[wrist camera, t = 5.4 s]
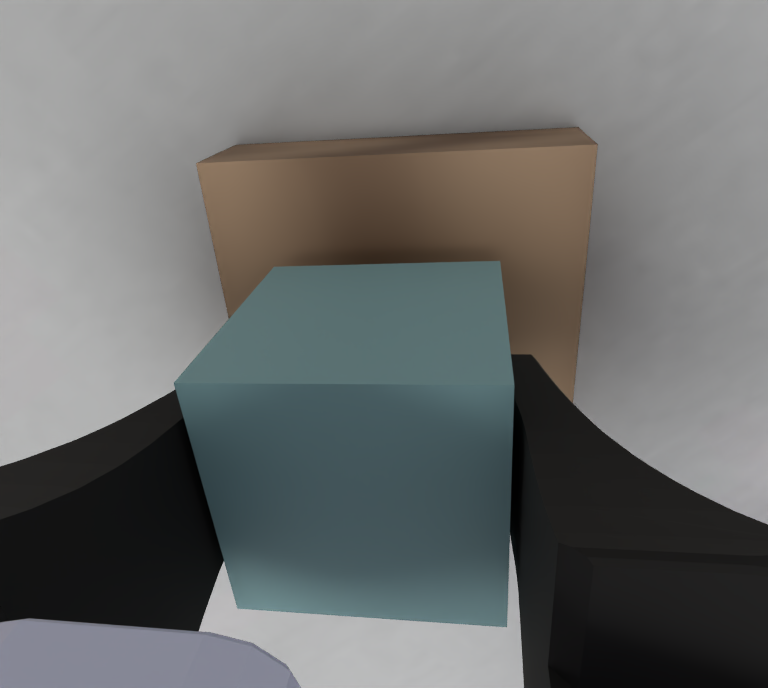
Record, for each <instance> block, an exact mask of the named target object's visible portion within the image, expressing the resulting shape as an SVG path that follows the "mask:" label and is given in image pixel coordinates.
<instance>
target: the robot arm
mask: <svg viewBox="0 0 768 688" xmlns="http://www.w3.org/2000/svg"><path fill="white" fill-rule="evenodd" d="M511 360H512V368H513V377H514V415H513V447H512V479H511V511H510V535H511V541H512V548H513V554H514V560H515V566H516V573H517V582H518V591H519V607H520V624H521V640H522V658H523V675H524V688H768V525H767V524H765V523H762V522H760V521H757V520H755V519H752V518H750V517H747V516H745V515H742V514H740V513H738V512H735V511H733V510H731V509H729V508H727V507H724V506H722V505H720V504H718V503H716V502H714V501H712V500H710V499H708V498H706V497H704V496H702V495H700V494H698V493H696V492H694V491H692V490H690V489H689V488H687V487H685V486H683V485H681V484H679V483H677V482H676V481H674V480H672V479H671V478H669V477H667V476H666V475H664V474H662V473H661V472H659V471H657V470H656V469H654V468H652V467H651V466H649V465H648V464H646V463H644V462H643V461H642V460H640V459H639V458H637V457H636V456H634V455H633V454H631V453H630V452H629V451H627V450H626V449H625V448H623V447H622V446H620V445H619V444H618V443H616V442H615V441H614V440H612V439H611V438H610V437H609V436H607V435H606V434H605V433H604V432H602V431H601V430H600V429H599V428H598V427H597V426H596V425H594V424H593V423H592V422H591V421H590V420H589V419H588V418H587V417H586V416H585V415H584V414H583V413H582V412H581V411H580V410H579V409H578V408H577V407H576V406H575V405H574V404H573V403H572V402H571V401H570V400H569V399H568V397H567V396H566V395H565V394H564V393H563V392H562V391H561V390H560V389H559V387H558V386H557V385H556V384H555V383H554V382H553V380H552V379H551V378H550V377H549V375H548V374H547V373H546V372H545V370H544V369H543V368H542V366H541V365H540V364H539V362H538V361H537V360H536V359H535V358H534V357H533V356H532V355H531V354H511ZM223 561H224V559H223V555H222V552H221V548H220V544H219V541H218V537H217V534H216V530H215V527H214V523H213V520H212V516H211V513H210V509H209V506H208V502H207V499H206V495H205V491H204V488H203V484H202V481H201V477H200V474H199V470H198V467H197V463H196V460H195V456H194V453H193V449H192V446H191V442H190V439H189V435H188V431H187V428H186V424H185V421H184V417H183V414H182V410H181V407H180V403H179V400H178V396H177V393H176V390H174V391H172V392H171V393H169V394H167V395H165V396H163V397H162V398H160V399H158V400H156V401H154V402H152V403H151V404H149V405H147V406H145V407H143V408H141V409H140V410H138V411H136V412H134V413H132V414H130V415H129V416H127V417H125V418H123V419H121V420H119V421H117V422H115V423H112V424H110V425H108V426H106V427H104V428H102V429H100V430H97V431H95V432H93V433H90V434H88V435H86V436H84V437H81V438H79V439H77V440H74V441H72V442H69V443H66V444H64V445H61V446H58V447H56V448H53V449H50V450H47V451H45V452H42V453H39V454H37V455H34V456H31V457H28V458H26V459H23V460H20V461H17V462H14V463H10V464H7V465H4V466H1V467H0V688H301V687H300V685H299V684H298V682H297V680H296V679H295V677H294V676H293V674H292V672H291V671H290V669H289V668H288V666H287V665H286V664H284V663H283V662H281V661H280V660H278V659H277V658H275V657H273V656H272V655H270V654H269V653H267V652H266V651H264V650H263V649H261V648H259V647H258V646H256V645H255V644H253V643H251V642H247V641H243V640H239V639H235V638H231V637H227V636H223V635H219V634H215V633H211V632H198V631H199V628H200V625H201V622H202V619H203V616H204V613H205V610H206V607H207V604H208V602H209V599H210V596H211V593H212V590H213V587H214V585H215V582H216V579H217V576H218V573H219V571H220V568H221V566H222V564H223Z"/></svg>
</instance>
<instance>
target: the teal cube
mask: <svg viewBox="0 0 768 688" xmlns="http://www.w3.org/2000/svg"><path fill="white" fill-rule="evenodd" d="M174 386H175V389H176V393H177V396H178V400H179V403H180V407H181V410H182V414H183V417H184V421H185V424H186V428H187V431H188V435H189V439H190V442H191V446H192V449H193V453H194V456H195V460H196V463H197V467H198V470H199V474H200V477H201V481H202V484H203V488H204V491H205V495H206V499H207V502H208V506H209V509H210V513H211V516H212V520H213V523H214V527H215V530H216V534H217V537H218V541H219V544H220V548H221V552H222V555H223V559H224V562H225V566H226V569H227V573H228V576H229V580H230V583H231V587H232V590H233V594H234V597H235V601H236V605H237V608H238V609H252V610H267V611H281V612H295V613H310V614H324V615H339V616H353V617H367V618H382V619H396V620H411V621H425V622H439V623H454V624H468V625H482V626H497V627H507V608H508V576H509V543H510V511H511V479H512V447H513V415H514V377H513V368H512V360H511V351H510V342H509V334H508V325H507V316H506V307H505V299H504V290H503V281H502V273H501V264H500V261H474V262H436V263H398V264H360V265H322V266H284V267H273V268H272V270H271V271H270V272H269V273H268V274H267V275H266V277H265V278H264V279H263V280H262V281H261V282H260V284H259V285H258V286H257V287H256V288H255V289H254V291H253V292H252V293H251V294H250V295H249V296H248V297H247V299H246V300H245V301H244V302H243V303H242V304H241V306H240V307H239V308H238V309H237V310H236V311H235V313H234V314H233V315H232V316H231V317H230V318H229V320H228V321H227V322H226V323H225V324H224V325H223V327H222V328H221V329H220V330H219V331H218V332H217V333H216V335H215V336H214V337H213V338H212V339H211V340H210V342H209V343H208V344H207V345H206V346H205V347H204V349H203V350H202V351H201V352H200V353H199V354H198V356H197V357H196V358H195V359H194V360H193V361H192V363H191V364H190V365H189V366H188V367H187V368H186V369H185V371H184V372H183V373H182V374H181V375H180V376H179V378H178V379H177V380H176V381H175V382H174Z"/></svg>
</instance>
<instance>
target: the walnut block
mask: <svg viewBox="0 0 768 688" xmlns="http://www.w3.org/2000/svg"><path fill="white" fill-rule="evenodd" d="M597 146H598V144H597V143H595V142H594V141H593V140H592V139H591V138H590V137H589V136H588V135H586V134H585V133H584V132H583V131H582V130H581V129H580V128H579V127H573V128H554V129H534V130H515V131H495V132H476V133H457V134H437V135H418V136H399V137H379V138H360V139H340V140H321V141H302V142H282V143H263V144H243V145H235V146H232V147H230V148H228V149H226V150H224V151H222V152H219V153H217V154H215V155H213V156H211V157H209V158H206V159H204V160H202V161H200V162H198V163H196V165H197V170H198V175H199V179H200V184H201V189H202V194H203V198H204V203H205V208H206V213H207V217H208V222H209V227H210V232H211V236H212V241H213V246H214V251H215V255H216V260H217V265H218V270H219V274H220V279H221V284H222V289H223V293H224V298H225V303H226V308H227V312H228V317H229V318H230V317H231V316H232V315H233V314H234V313H235V311H236V310H237V309H238V308H239V307H240V306H241V304H242V303H243V302H244V301H245V300H246V299H247V297H248V296H249V295H250V294H251V293H252V292H253V291H254V289H255V288H256V287H257V286H258V285H259V284H260V282H261V281H262V280H263V279H264V278H265V277H266V275H267V274H268V273H269V272H270V271H271V270H272V268H273V267H284V266H322V265H360V264H398V263H436V262H474V261H500V264H501V273H502V281H503V290H504V299H505V307H506V316H507V325H508V334H509V342H510V351H511V354H531V355H532V356H533V357H534V358H535V359H536V360H537V361H538V362H539V364H540V365H541V366H542V368H543V369H544V370H545V372H546V373H547V374H548V375H549V377H550V378H551V379H552V380H553V382H554V383H555V384H556V385H557V386H558V387H559V389H560V390H561V391H562V392H563V393H564V394H565V395H566V396H567V397H568V399H569V400H570V401H571V402H572V403H573V394H574V384H575V373H576V363H577V353H578V342H579V332H580V322H581V311H582V301H583V291H584V280H585V270H586V260H587V249H588V239H589V229H590V218H591V208H592V197H593V187H594V177H595V166H596V156H597Z"/></svg>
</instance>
